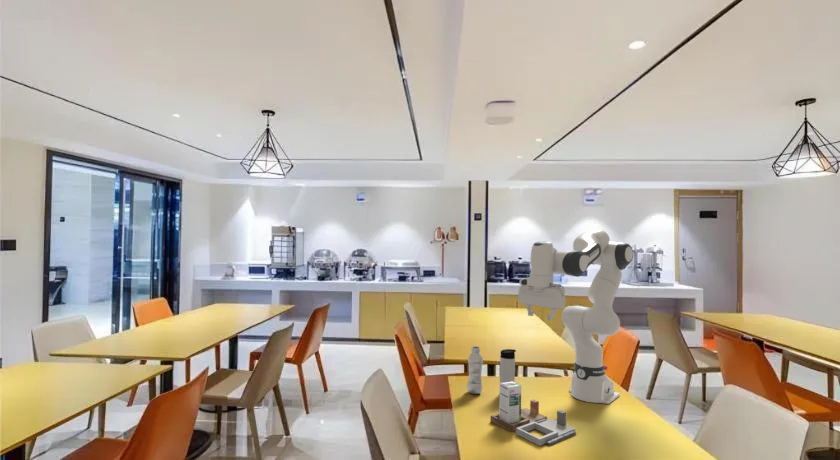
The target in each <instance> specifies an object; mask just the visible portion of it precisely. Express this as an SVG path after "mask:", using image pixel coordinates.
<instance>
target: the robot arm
mask: <svg viewBox="0 0 840 460" xmlns="http://www.w3.org/2000/svg"><path fill="white" fill-rule="evenodd" d="M572 243H573V244H572V248H573V249H572V250H558V249H557V248H555V247H554V245H553V242H551V241H547V240H546V241H537V242H534V243H533V244H532V247H531V249H530V273H529V276H528V277H526V278H522V279H521V278H520V280H519V282H518V283H519V285H520V286H519V287H518V294H517V300H518V302H519V304H525V308H526V310H527V316H529V317H533V316H534V313H535V311H533V310H532V306H539V307H542V308H543V307H544V308H549V311H550V313H549V314H547V320H549V321H553V320H554V319H555V318H554V317H555V314H556V312H557V310H562V309H563V310H562V312H561V321H562V323H563V325H564V327H566V329H568V331H569V333H570V335H571V337H572V339H573V343H574V348H575V362H574V364H573V365H574V366H573V367H574V368H573V371H574V372H573V373H572V377H571V383H570V384H571V386H570V388H569V389H568V392H570V394H571V397H573V398H575V399H577V400H580V401H582V402H588V403H595V404H596V403H597V404H599V403H600V404H606V405H609V404H612V402H613V401H615V400H616V399H618V398H619V397H620V393H619V392H618V391H615V390H614V382H613V380H611V378H610V377H608V376H607V375H606V372H605V371H608V369H609V366H608V365H606V364H603V363H604V362H603V360H604V359H603V353H604V352H603V351H604V350H603V346H601V344H600V343H598V341H597V340H595V338H594V336H593V335H598V336H614V335H616V334H617V333H618V332H619V331H620V327H621V320H620V318H619V315H617V313H616V312H615V311H614V309H613V303H614V300H615V297H616V295H617V292H618V290H619V287H620V284H621V280H622V271H623V270H625V269H626V268H627V267H628V266H629V265H630V263H632V261H633V258H634V250H633V248H632V246H631V245H630V244H629V243H626V242H622V241H619V242H616V241H611V239H610V236H609V234H608V233H607V232H606V231H605V230H604V229H603V230H602V229H592V230H588V231H586V232H584V233H581V234H580V235H578V236H576V238H575V239H574V240H573V242H572ZM591 265H598V266H600V268H599V270H598V271H597V273H596V274H595V276H594V277H593V279H592V282H591V283H590V287H589V288H588V290H587V294H586V295H587V298H588V300H589V301H590V302H591V303H592V306H591V307H590V306H589V307H588V306H581V305H568V306H566V296H565V294H566V291H565V290H566V289H565V287H564V286H563V285H562V284H560V283H554V275H561V276H562V275H563V276H564V275H565V276H571V277H581V276H583V275H584V273H585V272H586V271H587V269H588V268H589V267H590V266H591Z"/></svg>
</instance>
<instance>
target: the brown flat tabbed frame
mask: <svg viewBox="0 0 840 460" xmlns="http://www.w3.org/2000/svg"><path fill="white" fill-rule="evenodd" d="M529 401H530V403H529V405H530V406H529V407H530V408H528V407H524V408H521V421H519V422H516V423H513V424H509V423H507V422H505V421H503V420H501V419H499V412H498V413H495V414H492V415H490V422H491V423H493V424H496V425H497V426H499V427H502V428H503V429H505V430H507V431H509V432H516V428H517V427H520V426H523V425H526V424H529V423H531V422H536V421H539V420H542V419H547V420H548V417H547V416H546V415H543V414H541V413H540V411H539V410H540V409H539V407H540V402H539V401H538V400H536V399H531V400H529Z"/></svg>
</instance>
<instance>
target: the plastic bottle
mask: <svg viewBox="0 0 840 460" xmlns="http://www.w3.org/2000/svg"><path fill="white" fill-rule="evenodd" d="M470 349H471V350H470V352H471V353H470V354H469V356H468V358H467V364H468V379H467V384H466V390H467V392H468V393H469V394H472V395H473V394H474V395H479V394H481V393H482V391H483V384H482V371H483V368H482V367H483V363H484V358H483V356H482V354H481V347H480V346H476V345H475V346H471V348H470Z"/></svg>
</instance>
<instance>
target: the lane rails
mask: <svg viewBox="0 0 840 460" xmlns="http://www.w3.org/2000/svg"><path fill="white" fill-rule="evenodd" d="M546 420H548V418H547V419H542V420H539V421H536V423H541V422H544V421H546ZM576 434H577V432H576V430H575V431H571V432H569V433H566V434H564V435H561V436H559V437H557V438H554V439H552V440H549V441H547V443H545V444H546V446H548V447H550V446H553V445H554V444H557V443H560V442H561V441H564V440H567V439H569V438H571V437H574V436H576Z"/></svg>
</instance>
